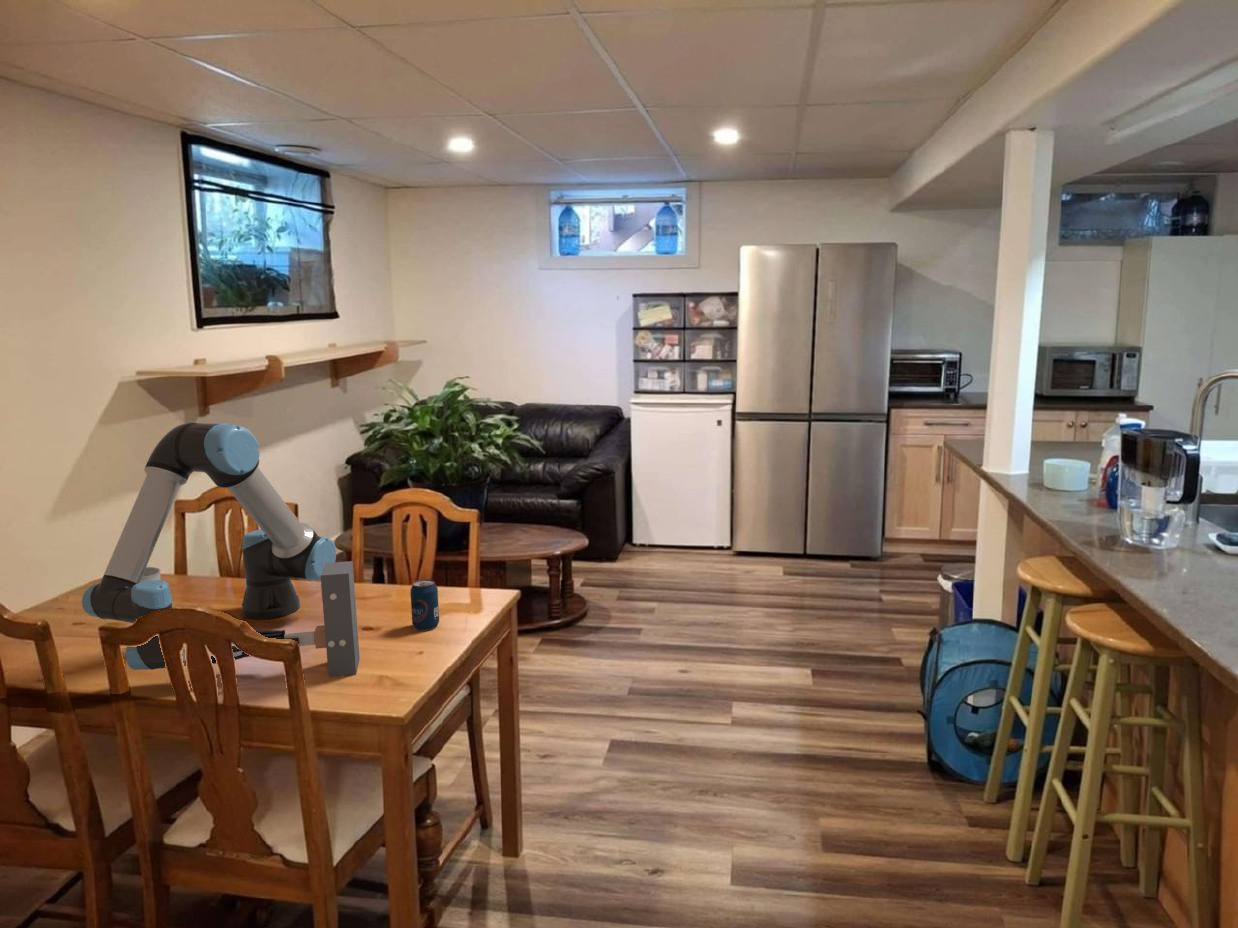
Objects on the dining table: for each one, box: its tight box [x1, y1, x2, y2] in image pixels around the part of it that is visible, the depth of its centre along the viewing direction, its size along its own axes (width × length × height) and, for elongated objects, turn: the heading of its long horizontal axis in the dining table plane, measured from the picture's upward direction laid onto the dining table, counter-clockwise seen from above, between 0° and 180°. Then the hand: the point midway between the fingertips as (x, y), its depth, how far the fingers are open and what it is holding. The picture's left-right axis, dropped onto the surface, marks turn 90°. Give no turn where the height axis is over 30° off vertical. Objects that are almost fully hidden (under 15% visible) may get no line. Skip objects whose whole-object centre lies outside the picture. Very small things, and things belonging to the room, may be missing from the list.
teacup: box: [140, 566, 162, 583], centre depth 257 cm, size 14×11×8 cm
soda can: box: [410, 579, 440, 632], centre depth 229 cm, size 7×7×12 cm
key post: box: [320, 560, 360, 678], centre depth 202 cm, size 6×10×24 cm, turn 12°
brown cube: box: [313, 624, 326, 650], centre depth 202 cm, size 4×4×4 cm
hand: (314, 637), depth 202 cm, fingers closed
